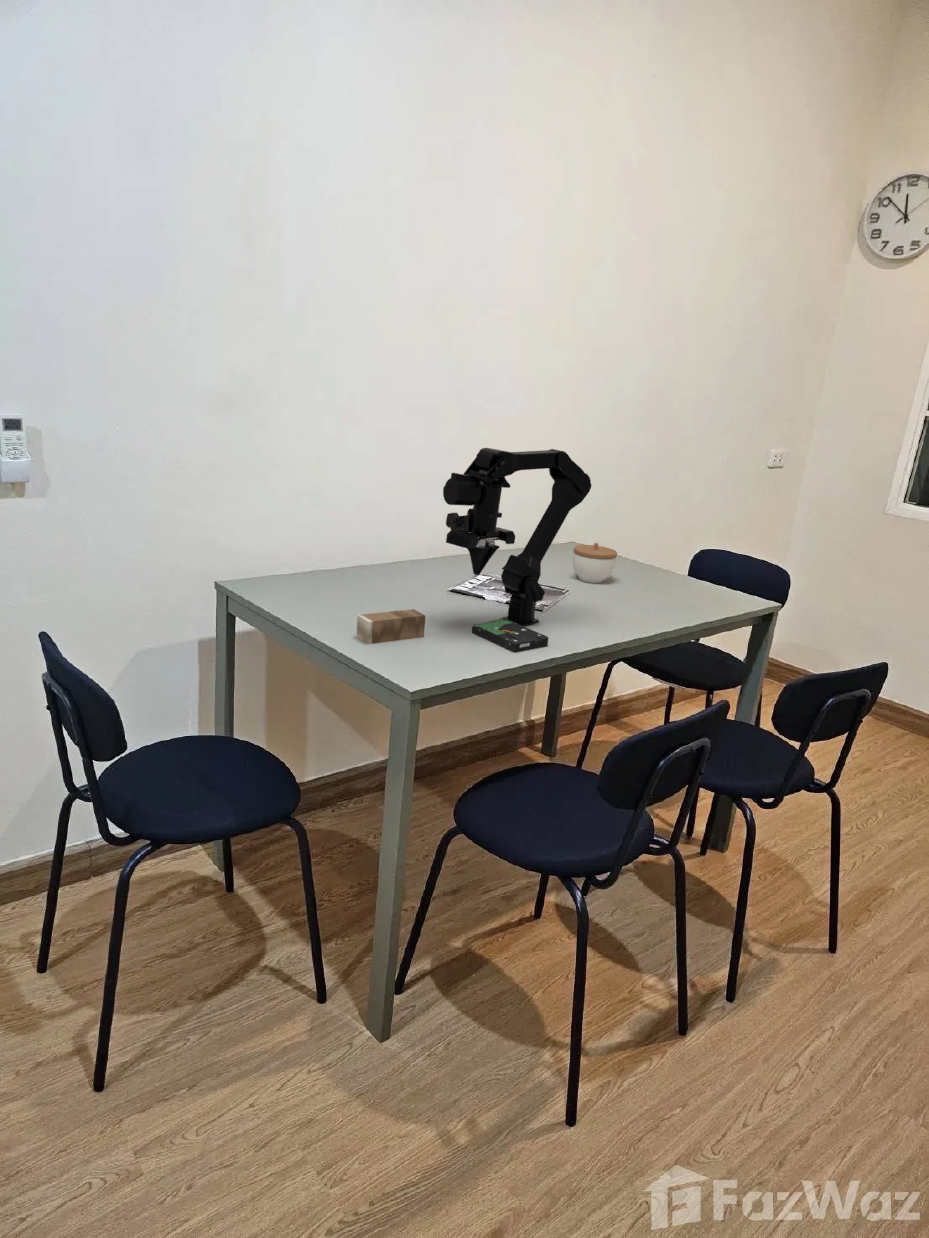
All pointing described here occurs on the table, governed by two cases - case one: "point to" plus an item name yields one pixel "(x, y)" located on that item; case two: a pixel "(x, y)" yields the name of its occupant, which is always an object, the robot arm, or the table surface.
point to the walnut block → (390, 626)
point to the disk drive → (510, 635)
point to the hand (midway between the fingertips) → (476, 574)
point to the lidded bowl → (593, 562)
